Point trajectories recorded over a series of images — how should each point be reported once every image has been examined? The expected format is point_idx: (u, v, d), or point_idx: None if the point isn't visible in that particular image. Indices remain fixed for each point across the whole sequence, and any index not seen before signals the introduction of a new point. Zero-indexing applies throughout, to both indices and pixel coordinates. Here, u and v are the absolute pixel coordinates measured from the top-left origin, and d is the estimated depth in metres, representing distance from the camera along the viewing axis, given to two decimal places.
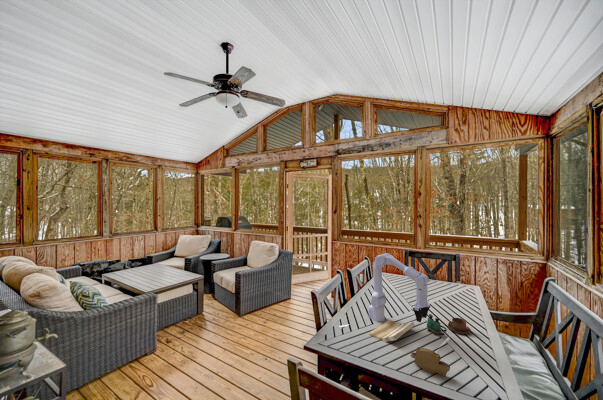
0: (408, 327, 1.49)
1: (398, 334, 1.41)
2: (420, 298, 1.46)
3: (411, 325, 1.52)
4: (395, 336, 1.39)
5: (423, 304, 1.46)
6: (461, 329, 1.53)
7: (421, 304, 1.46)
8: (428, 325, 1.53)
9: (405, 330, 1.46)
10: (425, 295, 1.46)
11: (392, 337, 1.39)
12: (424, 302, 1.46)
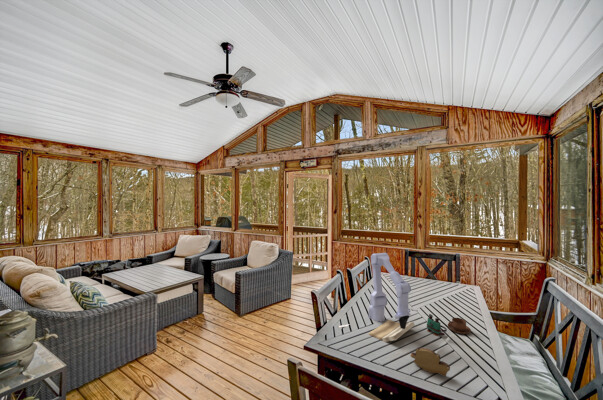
0: (408, 327, 1.49)
1: (398, 334, 1.41)
2: (401, 307, 1.45)
3: (411, 325, 1.52)
4: (395, 336, 1.39)
5: (404, 313, 1.44)
6: (461, 329, 1.53)
7: (402, 313, 1.44)
8: (428, 325, 1.53)
9: (405, 330, 1.46)
10: (404, 304, 1.44)
11: (392, 337, 1.39)
12: (404, 310, 1.44)
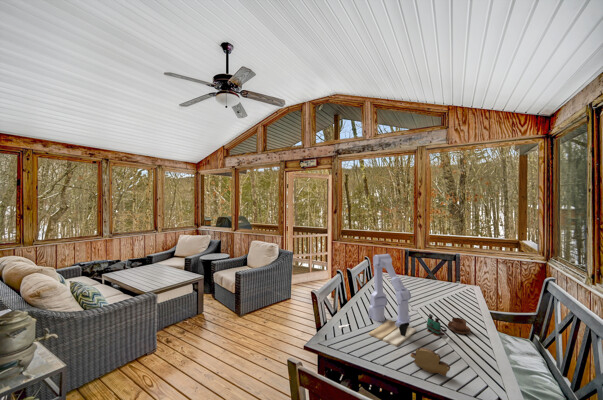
0: (410, 335, 1.48)
1: (400, 342, 1.40)
2: (401, 314, 1.45)
3: None
4: (397, 345, 1.38)
5: (404, 320, 1.44)
6: (461, 329, 1.53)
7: (402, 320, 1.44)
8: (428, 325, 1.53)
9: None
10: (404, 311, 1.44)
11: (394, 344, 1.38)
12: (405, 318, 1.44)
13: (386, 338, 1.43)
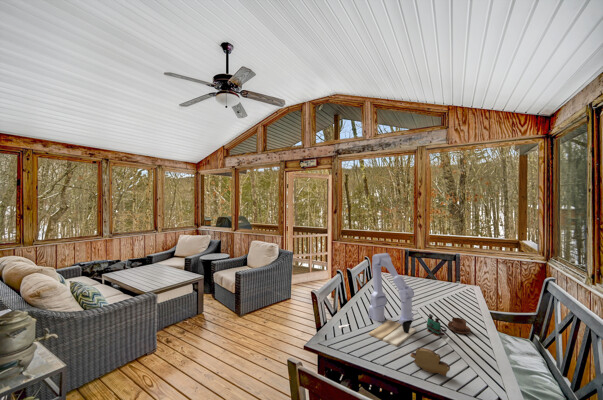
0: (410, 335, 1.48)
1: (400, 342, 1.40)
2: (404, 311, 1.48)
3: None
4: (397, 345, 1.38)
5: (407, 317, 1.47)
6: (461, 329, 1.53)
7: (405, 317, 1.47)
8: (428, 325, 1.53)
9: None
10: (408, 308, 1.47)
11: (394, 344, 1.38)
12: (408, 315, 1.47)
13: (386, 338, 1.43)
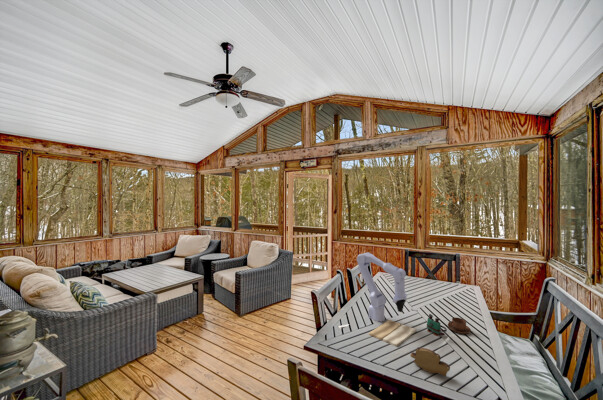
0: (410, 335, 1.48)
1: (400, 342, 1.40)
2: (398, 291, 1.56)
3: None
4: (397, 345, 1.38)
5: (401, 297, 1.56)
6: (461, 329, 1.53)
7: (399, 297, 1.56)
8: (428, 325, 1.53)
9: None
10: (402, 288, 1.56)
11: (394, 344, 1.38)
12: (401, 295, 1.56)
13: (386, 338, 1.43)
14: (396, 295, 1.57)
